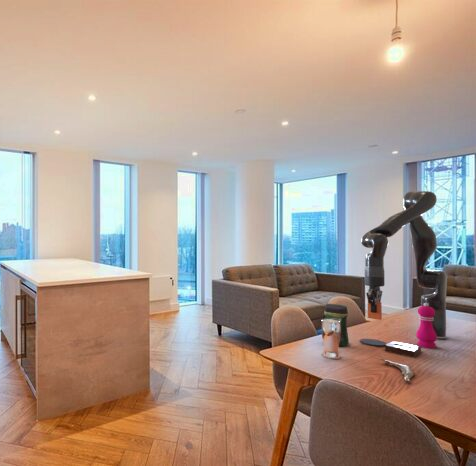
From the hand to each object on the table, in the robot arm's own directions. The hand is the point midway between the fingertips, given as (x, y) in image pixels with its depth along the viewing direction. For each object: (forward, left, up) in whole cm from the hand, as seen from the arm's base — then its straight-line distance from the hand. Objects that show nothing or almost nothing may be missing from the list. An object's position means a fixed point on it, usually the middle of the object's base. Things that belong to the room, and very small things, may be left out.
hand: (374, 312), depth 158 cm
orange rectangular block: (0, 0, -3) cm, 3 cm away
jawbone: (+34, +16, -15) cm, 40 cm away
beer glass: (+35, -5, -15) cm, 38 cm away
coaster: (0, -1, -15) cm, 15 cm away
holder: (+3, +11, -15) cm, 19 cm away
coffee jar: (+15, -11, -15) cm, 24 cm away
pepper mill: (-15, +15, -15) cm, 26 cm away
